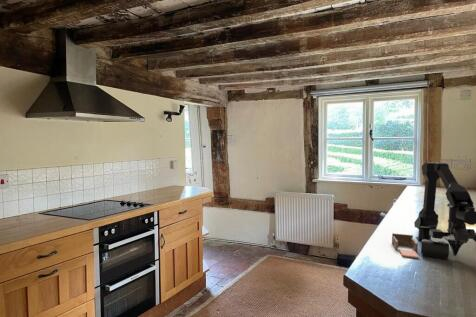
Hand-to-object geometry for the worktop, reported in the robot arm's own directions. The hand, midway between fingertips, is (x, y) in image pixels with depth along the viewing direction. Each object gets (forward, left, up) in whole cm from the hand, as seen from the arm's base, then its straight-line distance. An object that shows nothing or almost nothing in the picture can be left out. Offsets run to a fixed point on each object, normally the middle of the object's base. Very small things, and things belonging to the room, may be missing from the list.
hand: (454, 255), depth 140 cm
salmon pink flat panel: (-2, -18, -1) cm, 18 cm away
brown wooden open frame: (-8, -18, -2) cm, 20 cm away
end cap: (0, -8, -2) cm, 8 cm away
